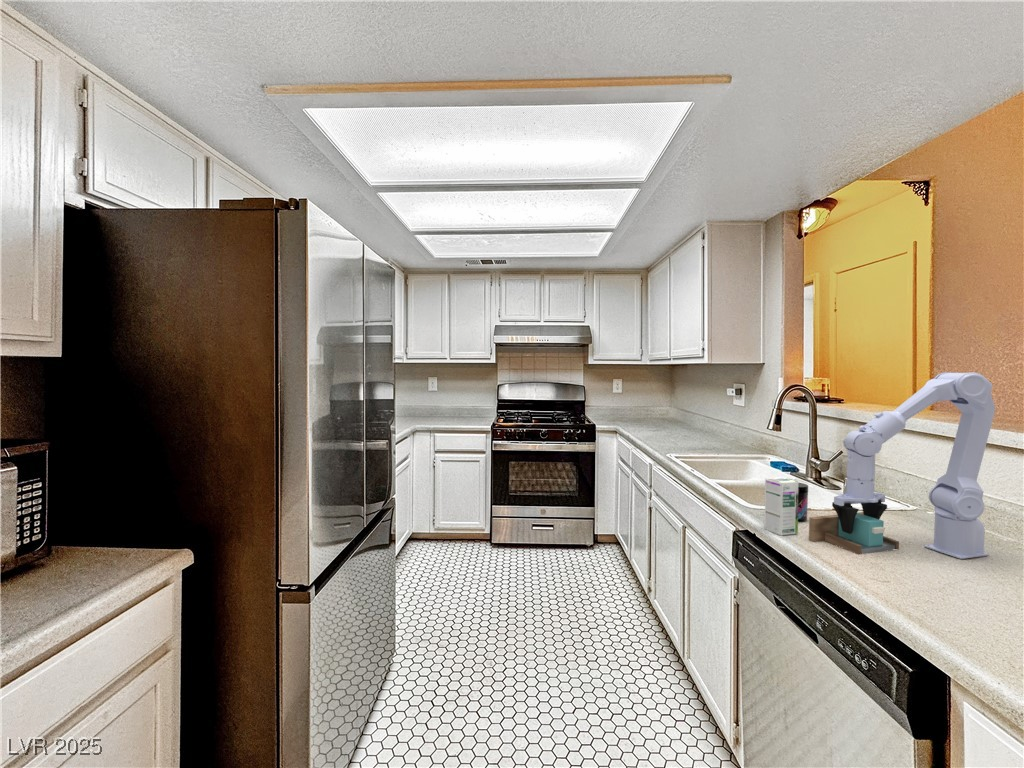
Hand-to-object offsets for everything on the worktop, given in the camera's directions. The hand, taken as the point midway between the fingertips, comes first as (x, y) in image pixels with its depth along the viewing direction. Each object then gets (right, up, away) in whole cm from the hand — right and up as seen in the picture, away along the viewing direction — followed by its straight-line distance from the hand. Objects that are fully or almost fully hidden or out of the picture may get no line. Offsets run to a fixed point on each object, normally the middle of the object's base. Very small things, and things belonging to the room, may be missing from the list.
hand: (858, 531), depth 118 cm
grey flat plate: (0, -3, -1) cm, 3 cm away
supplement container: (-4, -3, +20) cm, 21 cm away
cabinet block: (0, -2, 0) cm, 2 cm away
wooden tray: (0, -3, -1) cm, 3 cm away
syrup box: (-15, -3, +9) cm, 18 cm away
